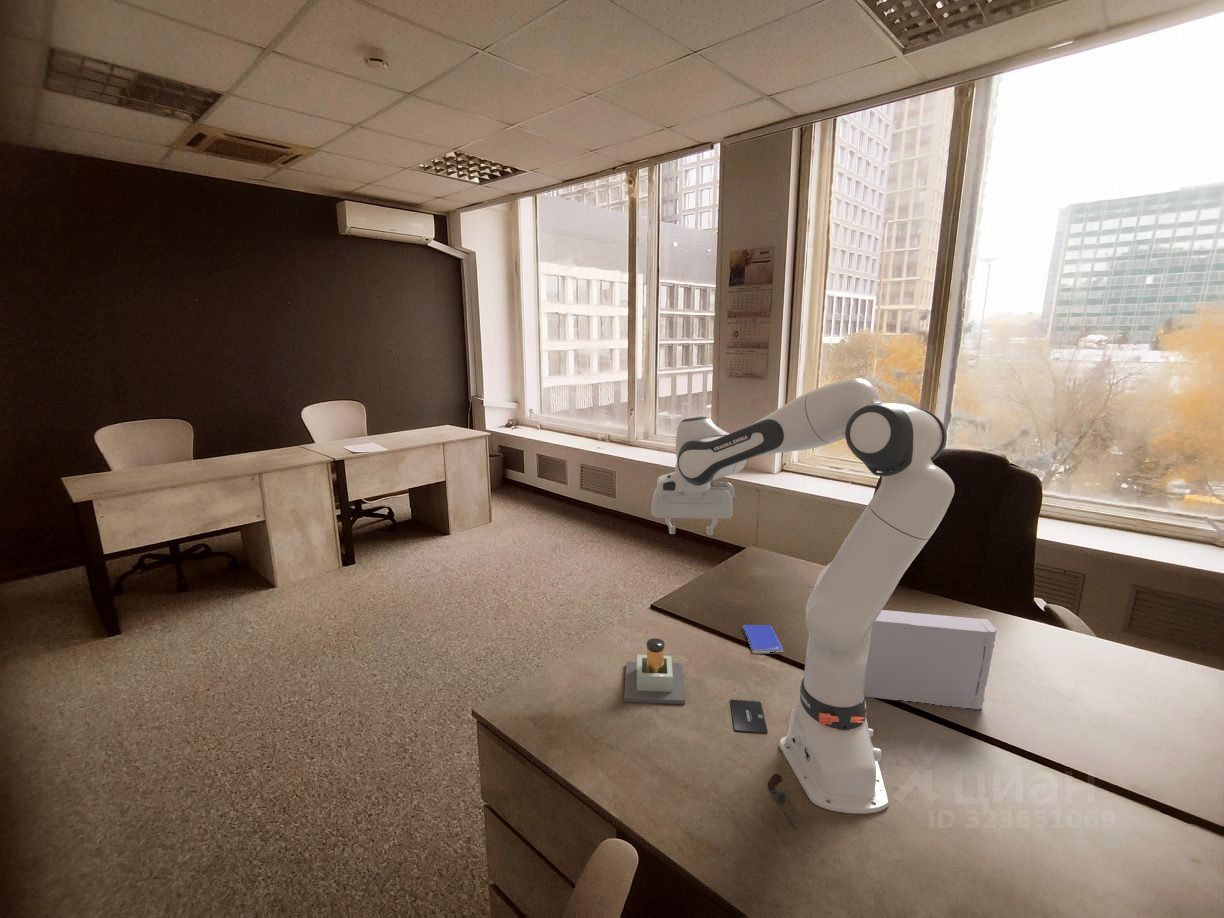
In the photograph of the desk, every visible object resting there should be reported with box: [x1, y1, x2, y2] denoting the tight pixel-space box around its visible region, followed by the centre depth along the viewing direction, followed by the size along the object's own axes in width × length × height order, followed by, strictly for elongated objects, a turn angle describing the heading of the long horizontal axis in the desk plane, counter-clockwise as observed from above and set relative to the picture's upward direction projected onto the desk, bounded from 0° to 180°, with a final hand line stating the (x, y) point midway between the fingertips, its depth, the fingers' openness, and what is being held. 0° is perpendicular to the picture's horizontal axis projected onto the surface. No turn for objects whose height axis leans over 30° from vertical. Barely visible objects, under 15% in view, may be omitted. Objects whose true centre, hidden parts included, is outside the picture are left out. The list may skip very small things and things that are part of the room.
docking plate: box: [624, 654, 686, 705], centre depth 132 cm, size 14×14×5 cm
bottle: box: [646, 637, 665, 673], centre depth 131 cm, size 4×4×10 cm
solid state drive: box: [730, 699, 768, 735], centre depth 121 cm, size 7×10×1 cm
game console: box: [864, 609, 997, 710], centre depth 125 cm, size 6×27×20 cm, turn 78°
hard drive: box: [742, 624, 785, 654], centre depth 151 cm, size 2×8×12 cm
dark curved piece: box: [767, 773, 797, 831], centre depth 99 cm, size 14×4×1 cm, turn 13°
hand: (690, 533), depth 139 cm, fingers open, 8 cm apart
